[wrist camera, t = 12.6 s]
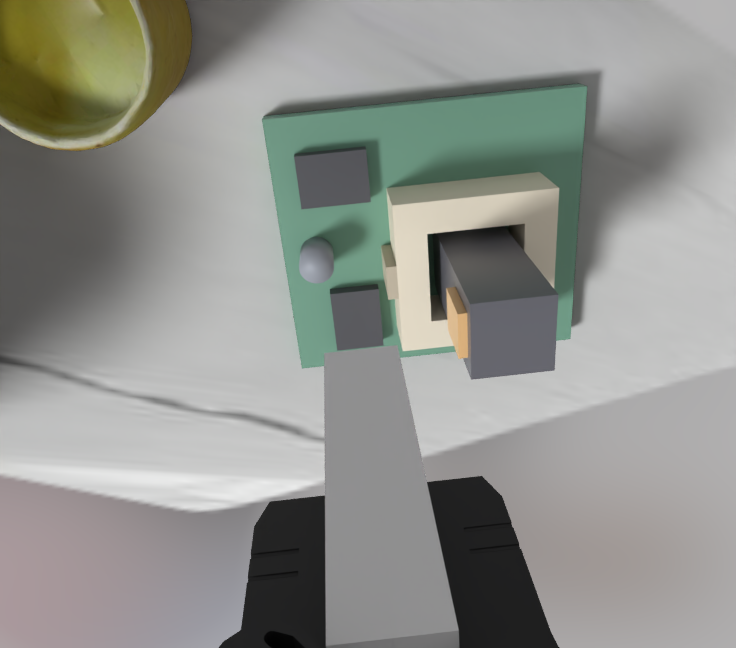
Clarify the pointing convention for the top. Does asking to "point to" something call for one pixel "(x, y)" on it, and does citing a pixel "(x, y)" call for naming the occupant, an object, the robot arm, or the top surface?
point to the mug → (88, 67)
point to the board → (421, 160)
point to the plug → (495, 303)
